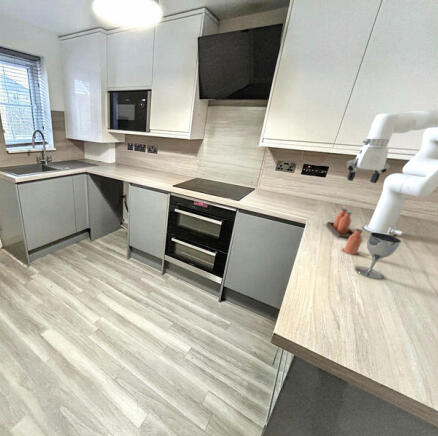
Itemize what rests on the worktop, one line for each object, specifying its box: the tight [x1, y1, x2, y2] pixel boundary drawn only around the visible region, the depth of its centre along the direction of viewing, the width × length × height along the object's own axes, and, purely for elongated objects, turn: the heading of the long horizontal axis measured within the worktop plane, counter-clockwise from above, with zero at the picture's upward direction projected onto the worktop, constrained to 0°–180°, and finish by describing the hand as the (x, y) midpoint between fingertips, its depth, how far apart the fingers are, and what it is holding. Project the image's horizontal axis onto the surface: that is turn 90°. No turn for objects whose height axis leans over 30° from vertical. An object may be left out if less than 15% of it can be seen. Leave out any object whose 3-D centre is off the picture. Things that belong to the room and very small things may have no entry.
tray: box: [326, 221, 355, 240], centre depth 124 cm, size 19×8×2 cm, turn 159°
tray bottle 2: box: [337, 211, 353, 234], centre depth 122 cm, size 4×4×11 cm
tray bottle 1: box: [333, 207, 348, 229], centre depth 127 cm, size 4×4×11 cm
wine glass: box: [356, 232, 402, 280], centre depth 86 cm, size 8×8×15 cm
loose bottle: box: [343, 228, 364, 255], centre depth 102 cm, size 4×4×11 cm
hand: (361, 181), depth 111 cm, fingers open, 9 cm apart
